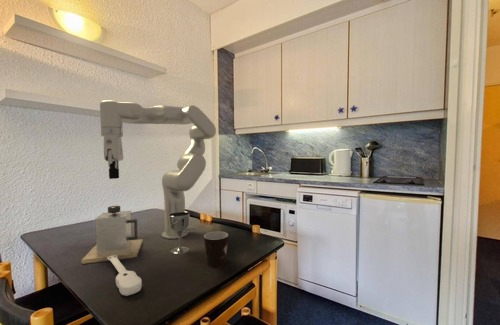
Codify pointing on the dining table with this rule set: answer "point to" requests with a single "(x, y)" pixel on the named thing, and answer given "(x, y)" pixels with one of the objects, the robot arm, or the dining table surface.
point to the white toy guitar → (125, 278)
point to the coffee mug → (216, 248)
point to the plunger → (113, 209)
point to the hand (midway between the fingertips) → (114, 178)
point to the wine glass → (179, 228)
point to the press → (114, 238)
